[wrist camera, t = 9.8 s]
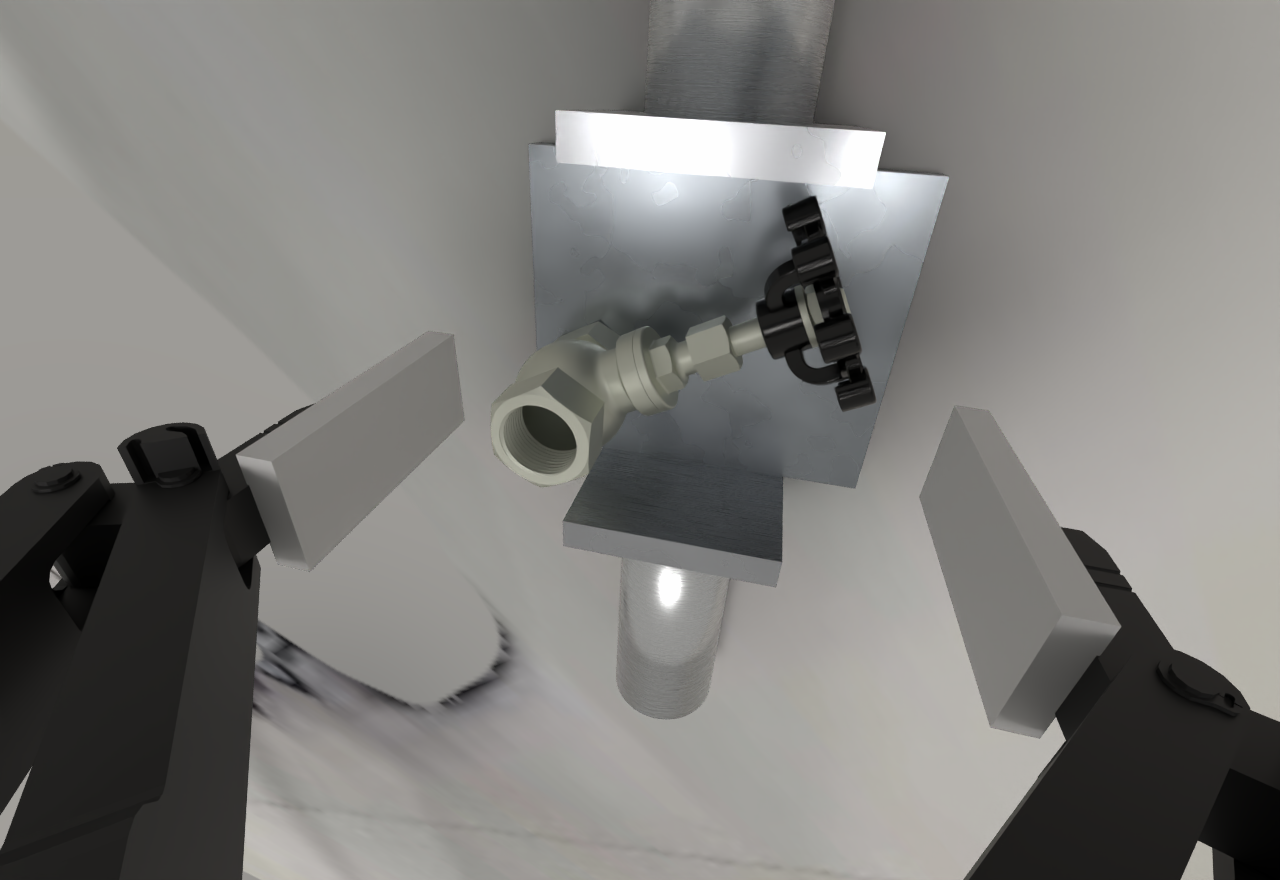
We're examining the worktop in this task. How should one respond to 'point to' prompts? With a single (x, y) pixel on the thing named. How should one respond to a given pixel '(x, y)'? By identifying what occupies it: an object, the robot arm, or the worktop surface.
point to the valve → (677, 363)
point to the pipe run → (716, 309)
